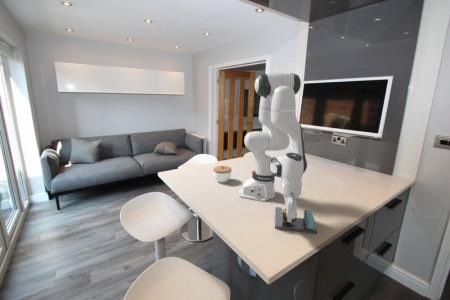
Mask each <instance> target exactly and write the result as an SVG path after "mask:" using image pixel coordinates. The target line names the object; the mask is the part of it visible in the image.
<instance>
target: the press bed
mask: <svg viewBox="0 0 450 300" xmlns="http://www.w3.org/2000/svg"><path fill="white" fill-rule="evenodd" d="M282 211H283V207H278V206H275V208H274V228H275V229H276V230H285V231H292V232H300V233H301V232H302V233H311V234H316V235H317V234H318V228H317V227H316V224H315V222H314V229H307V228H306V225H305V221H304V217H303V218H302V217H296V221H295V222H292V223H288V222H287V221H285V220H284V219H283V214H282Z"/></svg>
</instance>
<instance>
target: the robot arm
mask: <svg viewBox="0 0 450 300" xmlns="http://www.w3.org/2000/svg"><path fill="white" fill-rule="evenodd" d="M301 82H302V80H301V78H300V75H298V74H296V73H285V72H276V73H275V72H273V73H260V74H258V75H257V77H256V78H255V81H254V90H255V93H256V94H257V96H259V97H260V100H259V107H258V108H259V109H258V121H259V123H260V124H261V125H263V126H264V127H266V128H268V129H267V131H262V130H255V131H249V132H247V133H246V134H245V136H244V139H243V140H244V141H243V142H244V145H245V147H246V148H247V149H248V150H249V151H250V153H252V154H253V157H254V160H255V169H252V171H251V177H250V178H248V179H247V180H245V181H244V182H243V184H242V186H241V187H239V189H238V192H237V193H238V194H237V195H238V196H239V197H240V198H244V199H249V200H254V201H259V202H266V201H268V200H272V199H275V197H276V192H275V181H276V177H277V178H280V179H281V181H280V182H281V184H280V185H281V186H280V193H281V194H282V196H283V200H284V204H285V205H284V207H285V209H286V214H287V221H288V222H291V221H292V219H295V218H297V217H296V212H297V210H298V208H297V207H298V206H297V205H298V203H297V198H298V197H300V196H301V195H302V187H303V182H302V179H303V176H304V173H305V172H306V171H307V169H308V162H307V158H306V154H305V153H306V152H305V144H304V134H303V127H302V124H301V123H300V122H299V121H298V119H297V115H296V111H297V108H296V107H297V105H296V104H297V103H296V95H297V94H298V93H299V91H300V89H301V85H302V83H301ZM290 141H291V142H290ZM290 143H291V149H292V150H291V151H292V152H287V153H284V155H280V156H279V155H278V156H273V157H271V156H270V155H268V154H267V153H266V151H284V150H286V149H287V148H288V147H289V146H290Z"/></svg>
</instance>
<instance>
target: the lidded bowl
mask: <svg viewBox="0 0 450 300" xmlns="http://www.w3.org/2000/svg"><path fill="white" fill-rule="evenodd" d="M232 170H233V169H232V167H231V166H227V165H217V166H214V167H213V177H214V179H215V180H216V181H217V182H218V183H220V184H223V183H228V181H229V180H230V179H231V176H232Z"/></svg>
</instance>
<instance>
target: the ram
mask: <svg viewBox="0 0 450 300" xmlns="http://www.w3.org/2000/svg"><path fill="white" fill-rule="evenodd" d="M303 218H304V221H305V225H306V228H307V229H314V223H315V221H316V220H315V217H314V214H313V211H312V210H309V209H304V213H303Z"/></svg>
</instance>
